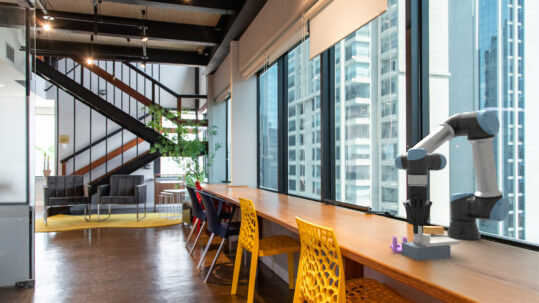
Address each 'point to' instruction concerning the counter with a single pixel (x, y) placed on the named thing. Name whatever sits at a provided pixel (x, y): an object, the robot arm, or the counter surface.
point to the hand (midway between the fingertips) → (418, 241)
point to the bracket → (397, 245)
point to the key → (434, 231)
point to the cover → (436, 241)
